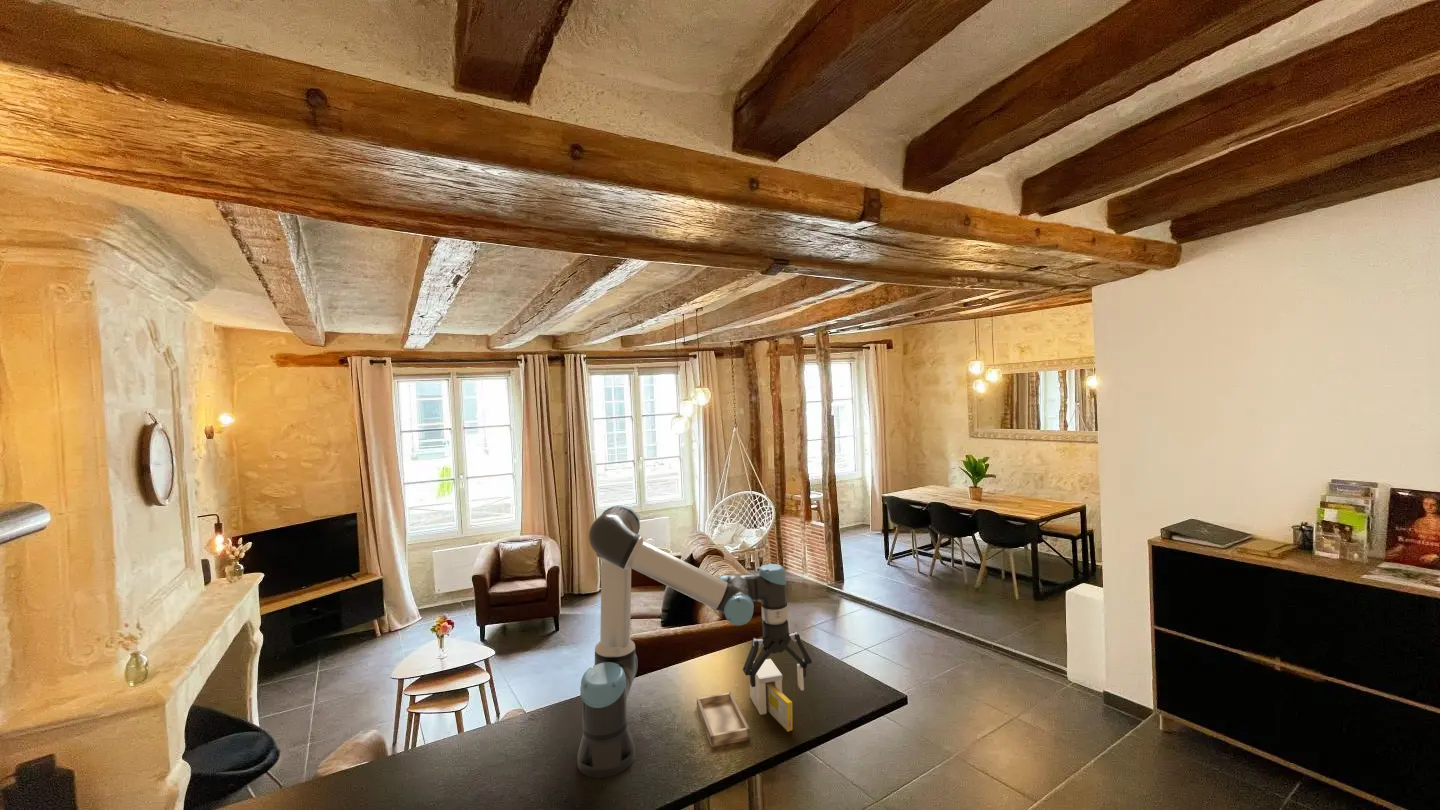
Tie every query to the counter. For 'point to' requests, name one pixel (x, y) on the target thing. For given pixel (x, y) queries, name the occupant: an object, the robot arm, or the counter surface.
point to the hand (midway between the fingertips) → (779, 692)
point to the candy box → (779, 706)
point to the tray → (722, 719)
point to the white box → (765, 674)
